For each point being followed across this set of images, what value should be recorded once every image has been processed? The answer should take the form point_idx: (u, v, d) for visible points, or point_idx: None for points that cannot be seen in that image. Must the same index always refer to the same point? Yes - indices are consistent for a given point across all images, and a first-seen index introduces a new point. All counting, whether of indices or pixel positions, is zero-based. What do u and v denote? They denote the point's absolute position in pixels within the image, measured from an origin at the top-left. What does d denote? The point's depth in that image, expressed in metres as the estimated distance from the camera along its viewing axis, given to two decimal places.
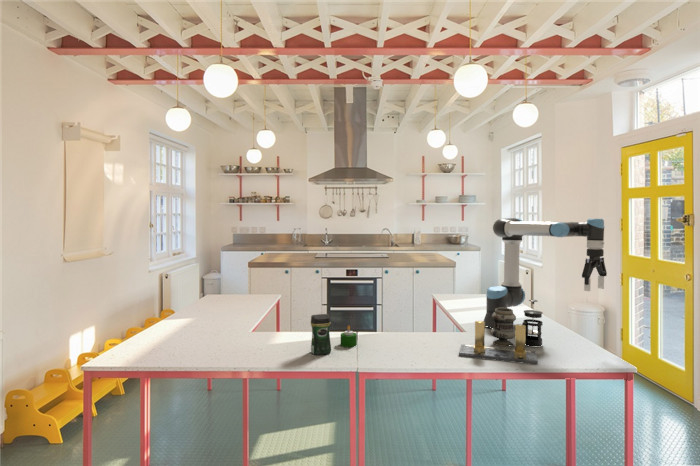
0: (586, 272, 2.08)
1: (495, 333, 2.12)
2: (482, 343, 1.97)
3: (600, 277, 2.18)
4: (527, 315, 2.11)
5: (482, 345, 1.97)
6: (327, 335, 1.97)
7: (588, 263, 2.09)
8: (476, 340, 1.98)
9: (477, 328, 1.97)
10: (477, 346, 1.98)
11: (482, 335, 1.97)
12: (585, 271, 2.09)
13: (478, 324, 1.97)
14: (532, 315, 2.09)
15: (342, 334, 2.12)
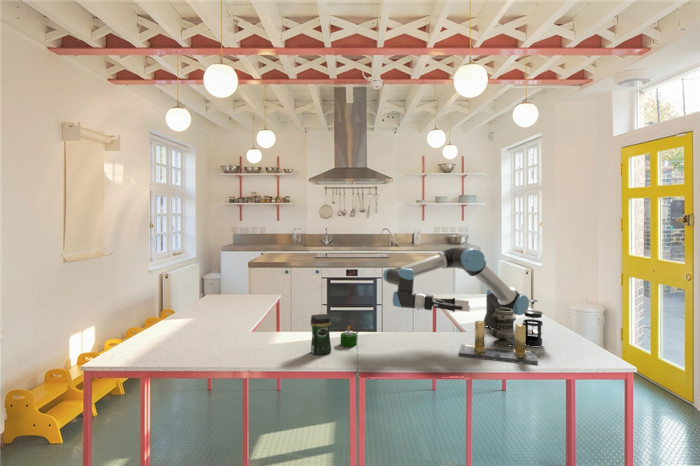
0: None
1: (495, 333, 2.12)
2: (482, 343, 1.97)
3: None
4: (527, 315, 2.11)
5: (482, 345, 1.97)
6: (327, 335, 1.97)
7: None
8: (476, 340, 1.98)
9: (477, 328, 1.97)
10: (477, 346, 1.98)
11: (482, 335, 1.97)
12: None
13: (478, 324, 1.97)
14: (532, 315, 2.09)
15: (342, 334, 2.12)
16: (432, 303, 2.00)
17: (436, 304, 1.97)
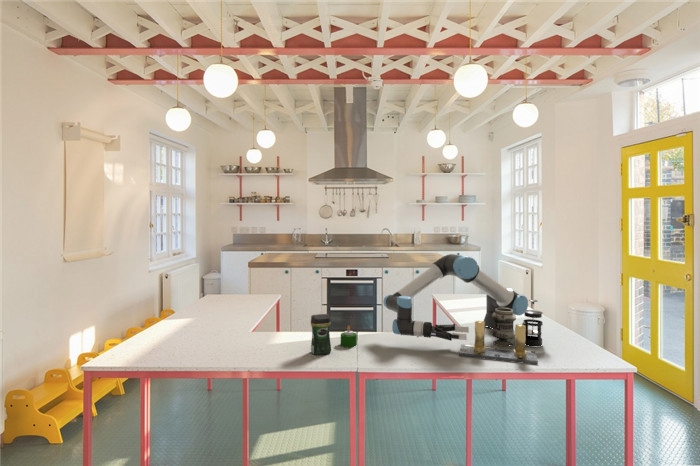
0: None
1: (495, 333, 2.12)
2: (482, 343, 1.97)
3: None
4: (527, 315, 2.11)
5: (482, 345, 1.97)
6: (327, 335, 1.97)
7: None
8: (476, 340, 1.98)
9: (477, 328, 1.97)
10: (477, 346, 1.98)
11: (482, 335, 1.97)
12: None
13: (478, 324, 1.97)
14: (532, 315, 2.09)
15: (342, 334, 2.12)
16: (430, 331, 2.03)
17: (433, 333, 1.99)
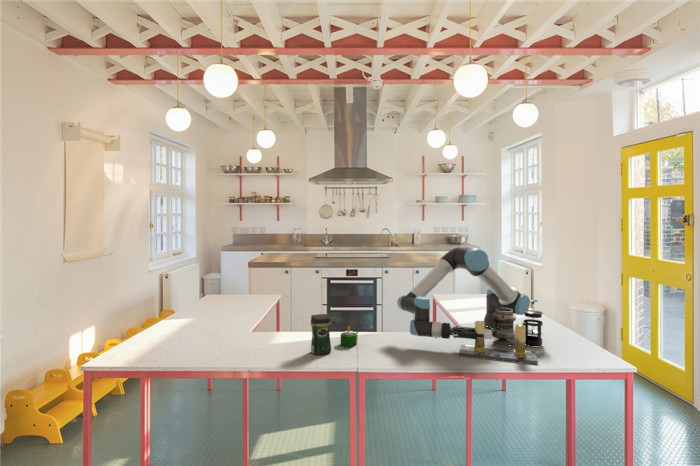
0: None
1: (495, 333, 2.12)
2: (482, 343, 1.97)
3: None
4: (527, 315, 2.11)
5: (482, 345, 1.97)
6: (327, 335, 1.97)
7: None
8: (476, 340, 1.98)
9: (477, 328, 1.97)
10: (477, 346, 1.98)
11: None
12: None
13: (478, 324, 1.97)
14: (532, 315, 2.09)
15: (342, 334, 2.12)
16: (449, 332, 2.00)
17: (456, 334, 1.96)
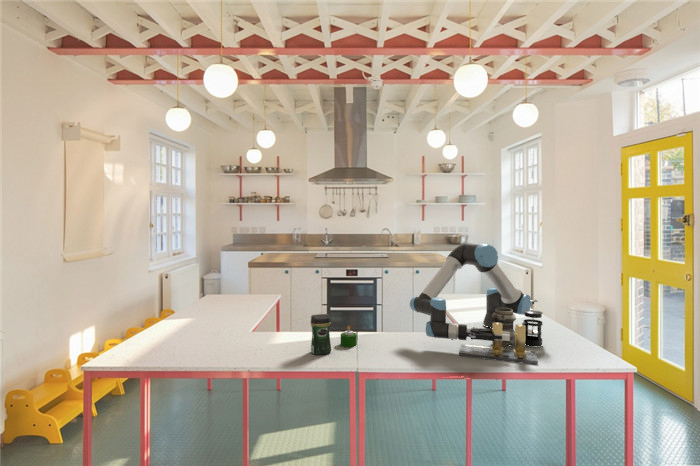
0: None
1: None
2: (500, 345, 1.94)
3: None
4: (527, 315, 2.11)
5: (500, 347, 1.94)
6: (327, 335, 1.97)
7: None
8: (494, 342, 1.95)
9: (495, 330, 1.95)
10: (495, 348, 1.95)
11: None
12: None
13: (496, 325, 1.94)
14: (532, 315, 2.09)
15: (342, 334, 2.12)
16: (466, 334, 1.97)
17: (474, 335, 1.94)
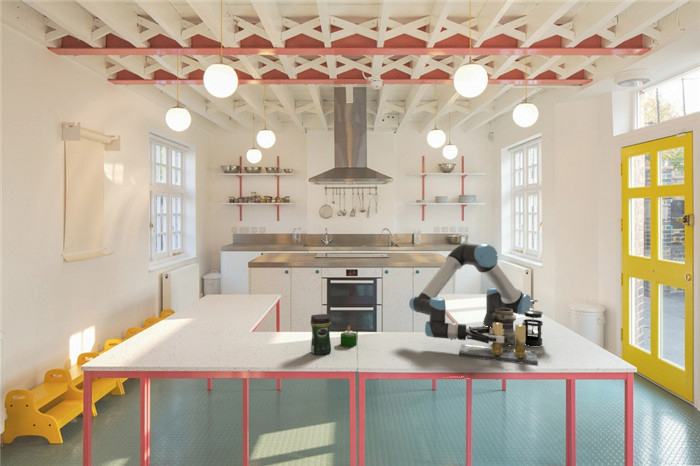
0: None
1: None
2: (500, 345, 1.94)
3: None
4: (527, 315, 2.11)
5: (500, 347, 1.94)
6: (327, 335, 1.97)
7: None
8: (494, 342, 1.95)
9: (495, 330, 1.95)
10: (495, 348, 1.95)
11: None
12: None
13: (496, 325, 1.94)
14: (532, 315, 2.09)
15: (342, 334, 2.12)
16: (465, 334, 1.97)
17: (469, 335, 1.94)
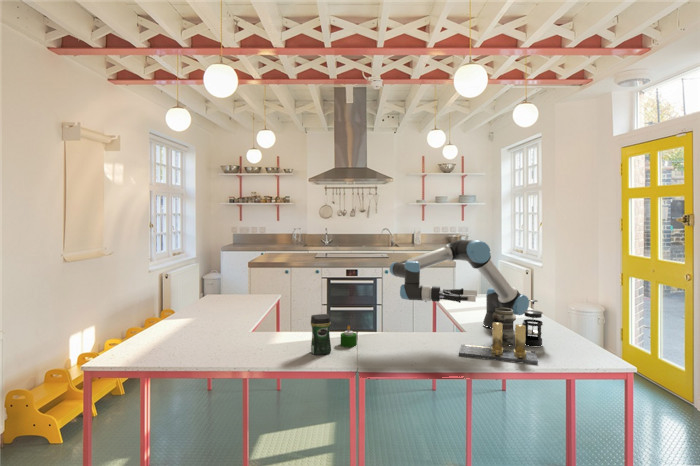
0: None
1: None
2: (500, 345, 1.94)
3: None
4: (527, 315, 2.11)
5: (500, 347, 1.94)
6: (327, 335, 1.97)
7: None
8: (494, 342, 1.95)
9: (495, 330, 1.95)
10: (495, 348, 1.95)
11: (500, 337, 1.94)
12: None
13: (496, 325, 1.94)
14: (532, 315, 2.09)
15: (342, 334, 2.12)
16: (438, 294, 2.01)
17: (442, 295, 1.97)
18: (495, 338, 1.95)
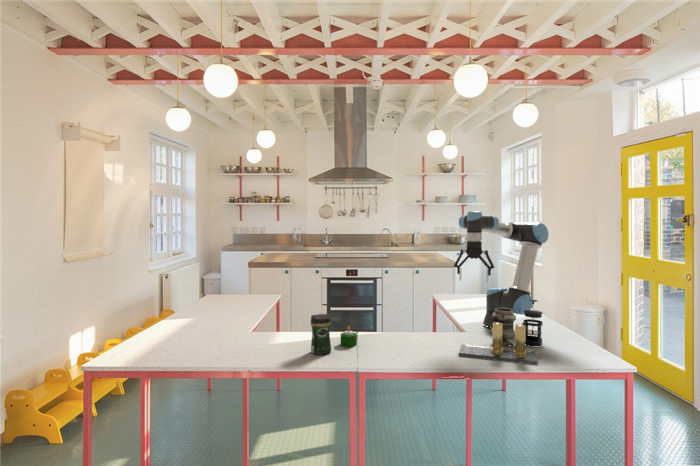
0: (455, 262, 2.21)
1: None
2: (500, 345, 1.94)
3: None
4: (527, 315, 2.11)
5: (500, 347, 1.94)
6: (327, 335, 1.97)
7: (460, 254, 2.20)
8: (494, 342, 1.95)
9: (495, 330, 1.95)
10: (495, 348, 1.95)
11: (500, 337, 1.94)
12: (456, 261, 2.21)
13: (496, 325, 1.94)
14: (532, 315, 2.09)
15: (342, 334, 2.12)
16: (481, 248, 2.17)
17: (487, 252, 2.16)
18: (495, 338, 1.95)
